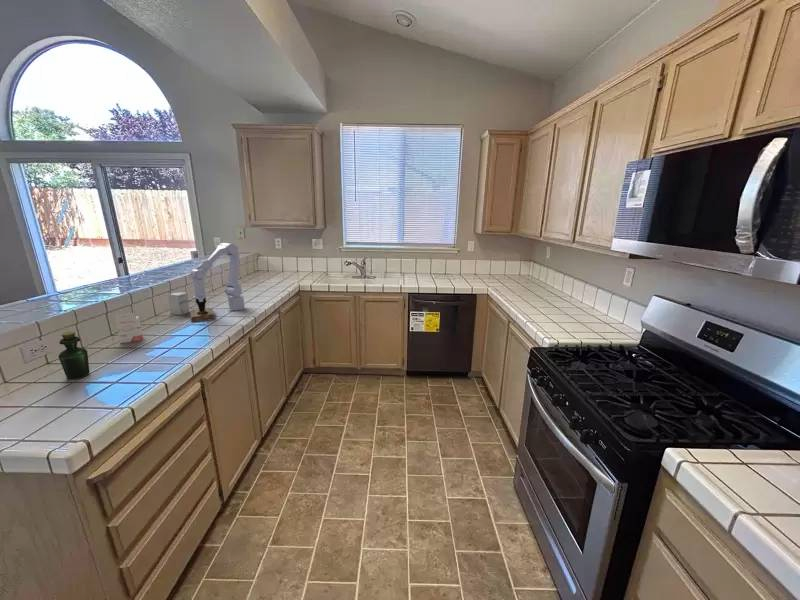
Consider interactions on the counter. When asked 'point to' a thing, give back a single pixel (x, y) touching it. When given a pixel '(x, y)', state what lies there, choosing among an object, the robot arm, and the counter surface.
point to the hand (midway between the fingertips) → (202, 310)
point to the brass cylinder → (202, 312)
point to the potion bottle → (73, 357)
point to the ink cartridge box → (128, 328)
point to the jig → (202, 315)
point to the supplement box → (178, 303)
